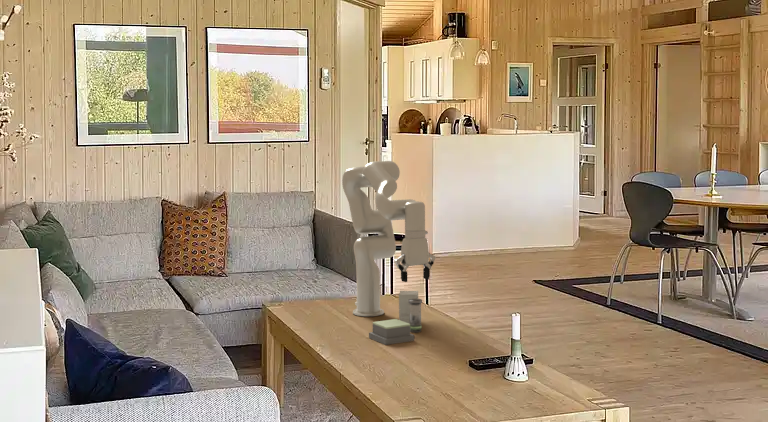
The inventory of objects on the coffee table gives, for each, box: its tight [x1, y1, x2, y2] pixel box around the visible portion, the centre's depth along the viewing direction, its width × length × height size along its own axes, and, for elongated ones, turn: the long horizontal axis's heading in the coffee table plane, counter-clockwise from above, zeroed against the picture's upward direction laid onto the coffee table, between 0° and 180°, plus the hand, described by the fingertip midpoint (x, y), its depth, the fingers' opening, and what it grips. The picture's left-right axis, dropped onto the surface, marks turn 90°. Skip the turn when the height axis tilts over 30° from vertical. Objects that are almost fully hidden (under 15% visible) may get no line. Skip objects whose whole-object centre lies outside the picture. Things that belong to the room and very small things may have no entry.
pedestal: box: [368, 318, 415, 346], centre depth 354 cm, size 12×12×6 cm
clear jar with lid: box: [408, 298, 423, 333], centre depth 366 cm, size 5×5×12 cm
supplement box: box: [398, 290, 419, 323], centre depth 377 cm, size 7×7×13 cm
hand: (415, 280), depth 364 cm, fingers open, 9 cm apart
